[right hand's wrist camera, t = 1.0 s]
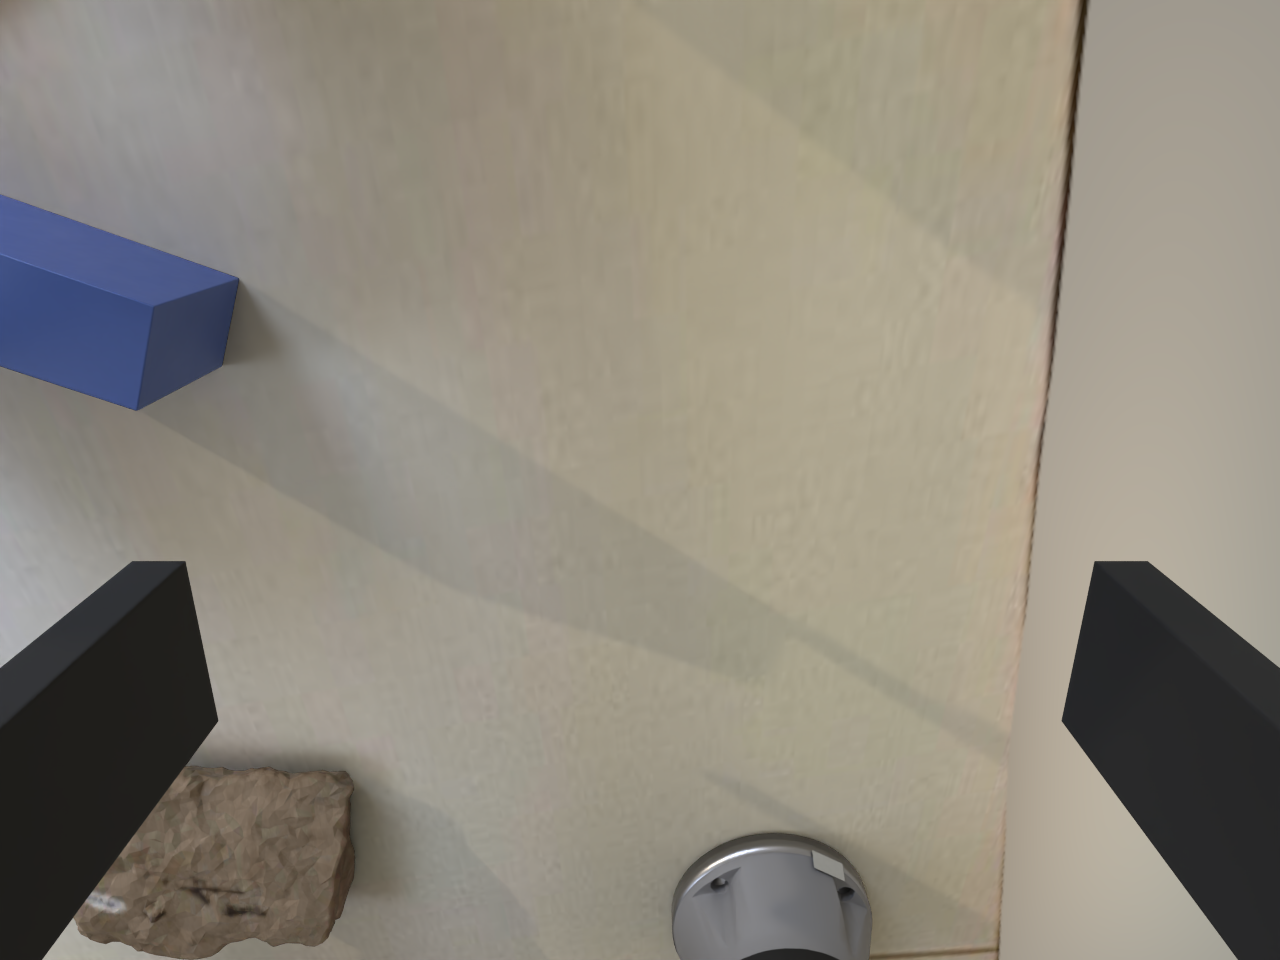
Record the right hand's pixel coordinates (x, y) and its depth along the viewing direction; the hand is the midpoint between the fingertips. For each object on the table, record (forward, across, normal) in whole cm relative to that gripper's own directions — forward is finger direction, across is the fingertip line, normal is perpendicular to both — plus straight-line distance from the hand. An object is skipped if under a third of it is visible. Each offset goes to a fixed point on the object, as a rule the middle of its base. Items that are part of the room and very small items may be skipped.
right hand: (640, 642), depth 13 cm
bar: (+40, +35, -1) cm, 54 cm away
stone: (+41, +31, +40) cm, 65 cm away
